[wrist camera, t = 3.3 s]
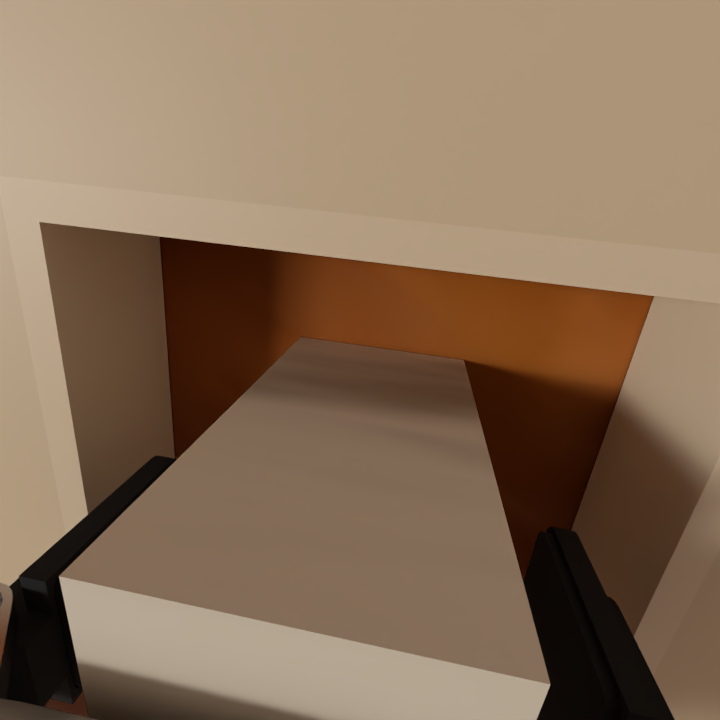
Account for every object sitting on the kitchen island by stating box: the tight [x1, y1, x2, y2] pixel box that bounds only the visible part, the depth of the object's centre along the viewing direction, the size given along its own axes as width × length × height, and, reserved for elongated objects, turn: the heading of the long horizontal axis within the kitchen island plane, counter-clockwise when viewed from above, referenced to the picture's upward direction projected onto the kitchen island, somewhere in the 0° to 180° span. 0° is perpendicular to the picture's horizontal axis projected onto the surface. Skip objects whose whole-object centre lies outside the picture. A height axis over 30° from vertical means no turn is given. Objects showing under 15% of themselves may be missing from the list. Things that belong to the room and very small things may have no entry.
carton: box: [0, 0, 720, 720], centre depth 12 cm, size 24×24×4 cm
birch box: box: [59, 337, 551, 720], centre depth 10 cm, size 8×5×9 cm, turn 174°
